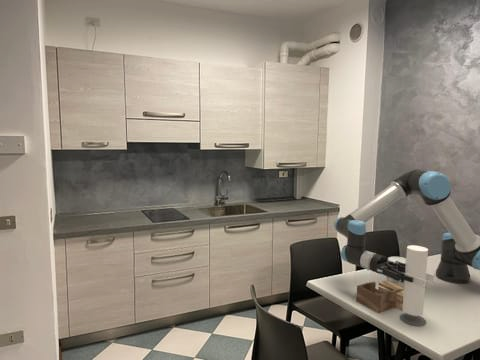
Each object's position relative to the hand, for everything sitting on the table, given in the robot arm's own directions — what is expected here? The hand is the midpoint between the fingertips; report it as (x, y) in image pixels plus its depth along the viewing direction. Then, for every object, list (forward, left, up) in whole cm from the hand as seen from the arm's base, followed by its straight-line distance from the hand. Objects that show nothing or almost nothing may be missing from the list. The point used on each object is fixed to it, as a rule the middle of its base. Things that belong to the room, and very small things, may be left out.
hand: (428, 280), depth 131 cm
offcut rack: (+7, -17, -18) cm, 26 cm away
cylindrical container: (+3, -4, -14) cm, 15 cm away
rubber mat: (+2, -4, -18) cm, 18 cm away
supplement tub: (-6, -31, -18) cm, 36 cm away
